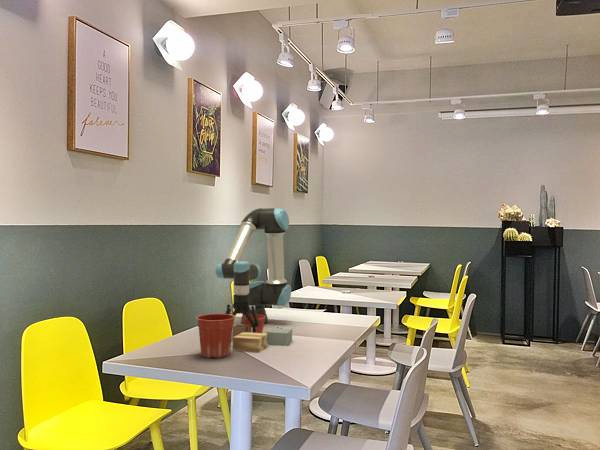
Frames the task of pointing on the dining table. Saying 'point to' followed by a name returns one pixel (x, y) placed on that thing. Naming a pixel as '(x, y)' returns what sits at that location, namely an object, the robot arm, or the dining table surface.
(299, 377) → the dining table surface
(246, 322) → the flower pot
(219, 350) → the flower pot
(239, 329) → the walnut block
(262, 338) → the oak pedestal
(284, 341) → the sage green pedestal
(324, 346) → the dining table surface
